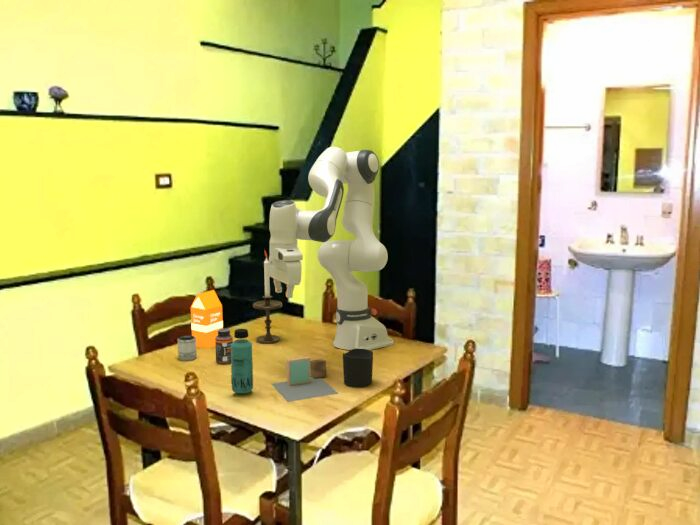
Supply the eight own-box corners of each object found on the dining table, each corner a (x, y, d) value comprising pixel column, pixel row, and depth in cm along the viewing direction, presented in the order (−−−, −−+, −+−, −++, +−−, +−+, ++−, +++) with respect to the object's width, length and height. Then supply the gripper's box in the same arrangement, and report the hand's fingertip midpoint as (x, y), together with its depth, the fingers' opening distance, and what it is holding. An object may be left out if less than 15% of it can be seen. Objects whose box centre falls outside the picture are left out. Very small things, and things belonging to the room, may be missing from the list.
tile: (308, 380, 209) (307, 356, 208) (310, 382, 207) (310, 358, 206) (287, 383, 206) (286, 358, 205) (289, 386, 204) (288, 361, 203)
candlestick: (260, 346, 246) (258, 252, 240) (249, 339, 255) (247, 248, 249) (287, 341, 251) (285, 250, 245) (275, 334, 260) (273, 246, 254)
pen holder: (376, 388, 204) (376, 356, 202) (346, 390, 202) (346, 358, 200) (368, 377, 213) (369, 347, 211) (340, 379, 211) (340, 349, 209)
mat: (319, 377, 213) (319, 376, 213) (338, 394, 198) (338, 393, 198) (271, 384, 207) (271, 383, 206) (287, 403, 192) (287, 401, 192)
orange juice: (223, 342, 251) (221, 290, 247) (207, 348, 243) (204, 295, 240) (208, 339, 255) (206, 288, 251) (191, 345, 247) (189, 292, 244)
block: (322, 374, 216) (321, 359, 216) (326, 376, 212) (325, 360, 212) (310, 376, 214) (309, 360, 214) (315, 378, 211) (314, 362, 210)
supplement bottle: (229, 365, 225) (228, 332, 223) (213, 364, 226) (211, 331, 224) (236, 359, 231) (235, 328, 229) (220, 358, 232) (218, 327, 230)
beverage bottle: (232, 390, 202) (230, 326, 198) (254, 389, 202) (252, 326, 199) (230, 398, 196) (228, 332, 192) (253, 398, 196) (251, 332, 193)
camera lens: (197, 360, 230) (196, 338, 229) (178, 362, 229) (177, 339, 227) (196, 354, 236) (195, 333, 235) (177, 356, 234) (176, 335, 233)
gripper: (263, 248, 219) (263, 290, 221) (285, 256, 201) (285, 301, 203) (281, 247, 222) (281, 288, 224) (305, 255, 204) (305, 299, 206)
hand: (283, 294), depth 213 cm, fingers open, 8 cm apart
